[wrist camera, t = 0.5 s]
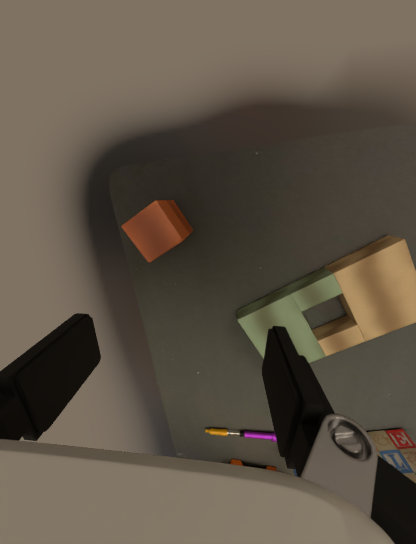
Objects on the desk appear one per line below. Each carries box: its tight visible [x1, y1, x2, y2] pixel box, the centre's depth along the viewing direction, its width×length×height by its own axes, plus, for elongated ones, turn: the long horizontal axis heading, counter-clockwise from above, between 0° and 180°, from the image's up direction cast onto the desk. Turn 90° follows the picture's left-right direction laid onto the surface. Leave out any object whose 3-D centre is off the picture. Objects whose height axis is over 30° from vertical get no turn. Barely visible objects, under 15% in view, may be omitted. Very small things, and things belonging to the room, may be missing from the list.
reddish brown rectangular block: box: [121, 200, 193, 263], centre depth 23 cm, size 5×5×7 cm
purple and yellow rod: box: [205, 428, 277, 442], centre depth 39 cm, size 3×1×16 cm
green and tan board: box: [236, 235, 416, 363], centre depth 28 cm, size 22×12×2 cm, turn 123°
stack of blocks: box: [293, 429, 416, 483], centre depth 33 cm, size 21×6×12 cm, turn 108°
